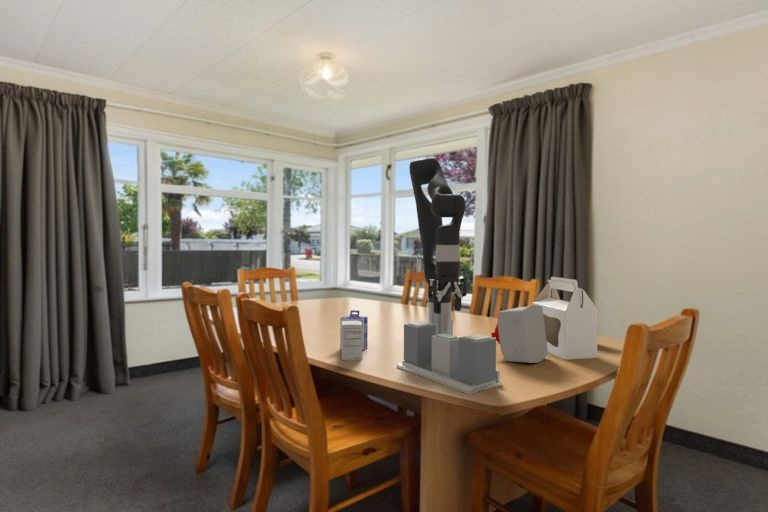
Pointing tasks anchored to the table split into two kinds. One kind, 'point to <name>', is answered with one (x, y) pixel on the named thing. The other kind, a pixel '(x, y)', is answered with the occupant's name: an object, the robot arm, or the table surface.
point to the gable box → (569, 320)
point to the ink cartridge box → (364, 327)
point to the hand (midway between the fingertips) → (447, 312)
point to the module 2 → (477, 359)
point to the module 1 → (418, 342)
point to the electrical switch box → (522, 334)
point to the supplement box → (351, 340)
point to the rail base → (448, 377)
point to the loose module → (445, 353)
